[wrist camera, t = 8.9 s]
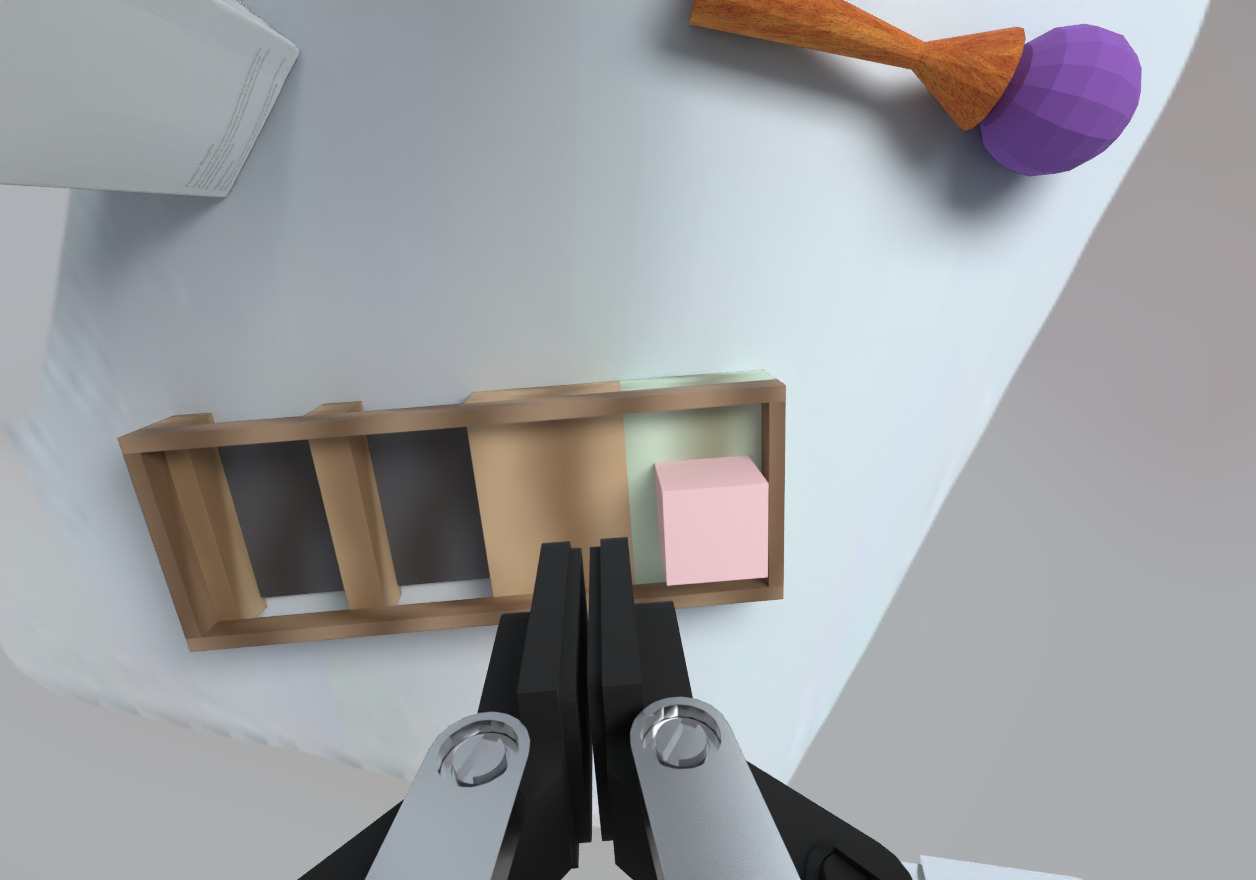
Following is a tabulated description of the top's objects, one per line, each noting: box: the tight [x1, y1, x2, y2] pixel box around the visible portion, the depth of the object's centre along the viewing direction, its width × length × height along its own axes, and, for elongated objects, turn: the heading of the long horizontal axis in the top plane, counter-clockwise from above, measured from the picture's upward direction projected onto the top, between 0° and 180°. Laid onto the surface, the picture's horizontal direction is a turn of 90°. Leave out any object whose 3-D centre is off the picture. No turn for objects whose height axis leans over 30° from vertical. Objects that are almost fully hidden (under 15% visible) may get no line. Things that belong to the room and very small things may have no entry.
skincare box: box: [0, 0, 300, 198], centre depth 21 cm, size 8×6×15 cm
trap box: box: [117, 370, 786, 652], centre depth 33 cm, size 32×12×4 cm, turn 94°
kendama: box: [689, 0, 1142, 176], centre depth 27 cm, size 6×6×20 cm
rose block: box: [654, 456, 769, 586], centre depth 31 cm, size 5×5×4 cm
